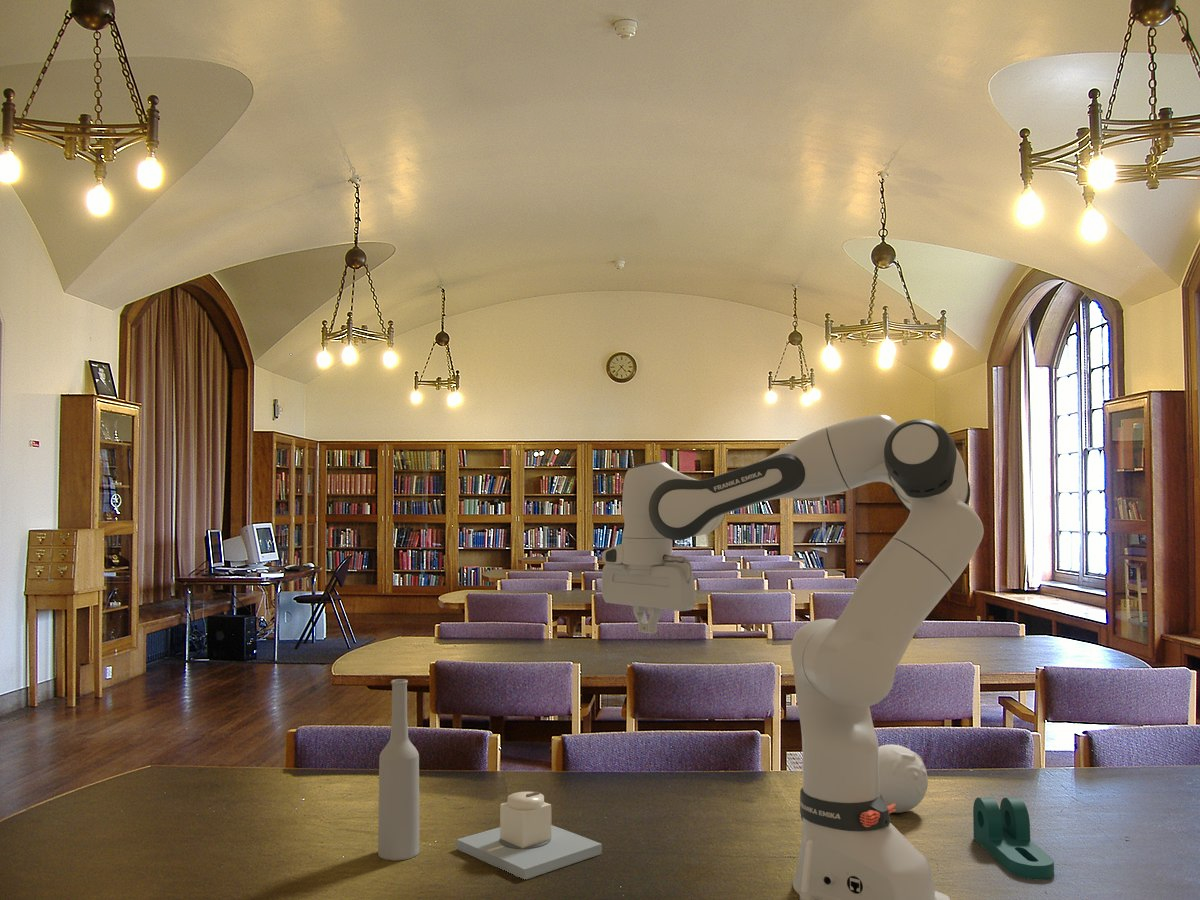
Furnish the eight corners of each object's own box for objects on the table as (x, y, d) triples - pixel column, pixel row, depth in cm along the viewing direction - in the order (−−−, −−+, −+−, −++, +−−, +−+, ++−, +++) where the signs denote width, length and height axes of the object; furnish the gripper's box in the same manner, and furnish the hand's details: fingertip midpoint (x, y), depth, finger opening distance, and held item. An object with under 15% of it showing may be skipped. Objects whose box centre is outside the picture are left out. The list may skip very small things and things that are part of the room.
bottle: (370, 853, 162) (371, 680, 163) (404, 843, 167) (405, 675, 168) (392, 864, 157) (393, 685, 159) (427, 853, 162) (427, 680, 163)
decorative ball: (903, 826, 174) (902, 757, 175) (847, 809, 183) (846, 744, 184) (941, 812, 182) (940, 746, 182) (885, 797, 191) (884, 734, 192)
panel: (601, 853, 161) (601, 812, 162) (524, 880, 151) (524, 835, 151) (532, 826, 175) (532, 788, 175) (456, 849, 164) (457, 808, 164)
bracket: (973, 839, 168) (972, 792, 169) (1013, 839, 168) (1012, 792, 168) (1017, 880, 150) (1016, 828, 151) (1062, 880, 150) (1060, 828, 150)
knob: (522, 848, 159) (522, 803, 160) (500, 838, 164) (500, 794, 164) (551, 839, 163) (551, 795, 164) (528, 830, 168) (528, 787, 168)
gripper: (703, 555, 170) (704, 637, 169) (620, 550, 185) (620, 625, 184) (678, 557, 165) (678, 640, 165) (595, 552, 181) (595, 628, 180)
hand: (647, 632), depth 175 cm, fingers closed
